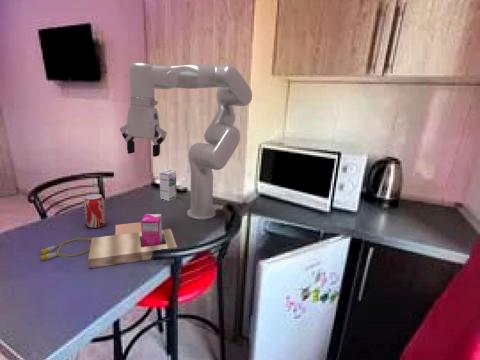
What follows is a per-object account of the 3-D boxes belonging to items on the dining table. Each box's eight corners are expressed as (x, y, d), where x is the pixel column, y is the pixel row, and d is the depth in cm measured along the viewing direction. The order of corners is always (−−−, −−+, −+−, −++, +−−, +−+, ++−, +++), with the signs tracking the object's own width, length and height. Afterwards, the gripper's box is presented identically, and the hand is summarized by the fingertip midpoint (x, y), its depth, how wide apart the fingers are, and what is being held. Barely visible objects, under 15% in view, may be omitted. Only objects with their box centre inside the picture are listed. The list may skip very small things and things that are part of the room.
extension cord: (47, 244, 100) (46, 239, 100) (97, 239, 105) (97, 234, 105) (35, 263, 89) (34, 257, 89) (93, 256, 94) (92, 251, 94)
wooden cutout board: (170, 236, 109) (170, 228, 108) (177, 255, 97) (177, 247, 96) (92, 245, 100) (92, 237, 99) (89, 268, 87) (88, 259, 87)
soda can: (98, 230, 111) (95, 200, 108) (82, 227, 112) (78, 198, 109) (110, 222, 118) (107, 194, 114) (94, 220, 119) (91, 192, 116)
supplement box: (146, 243, 103) (144, 213, 100) (163, 243, 104) (162, 213, 100) (142, 252, 97) (140, 220, 94) (160, 252, 98) (159, 220, 95)
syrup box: (168, 201, 143) (168, 173, 139) (160, 199, 146) (159, 171, 142) (176, 198, 148) (176, 170, 144) (168, 196, 150) (167, 168, 146)
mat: (152, 222, 120) (152, 221, 120) (156, 235, 109) (156, 234, 109) (115, 226, 115) (115, 224, 115) (115, 240, 104) (115, 238, 104)
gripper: (171, 105, 98) (171, 155, 103) (126, 101, 102) (128, 150, 107) (160, 105, 91) (160, 159, 96) (112, 101, 95) (114, 153, 100)
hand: (143, 154), depth 101 cm, fingers open, 9 cm apart
